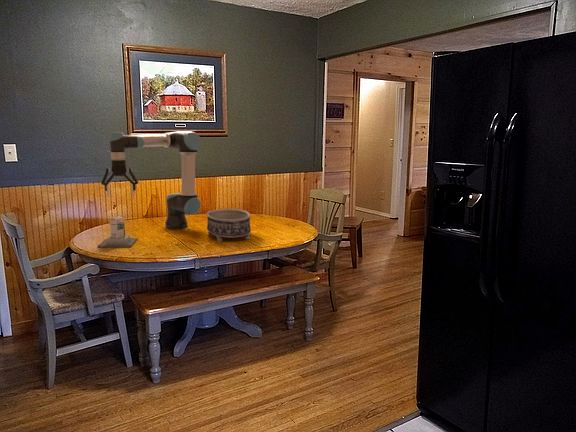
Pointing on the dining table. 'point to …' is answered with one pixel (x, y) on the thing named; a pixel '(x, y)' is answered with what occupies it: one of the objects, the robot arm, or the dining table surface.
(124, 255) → the dining table surface
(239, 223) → the decorative bowl
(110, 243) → the mount plate
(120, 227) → the syrup box
